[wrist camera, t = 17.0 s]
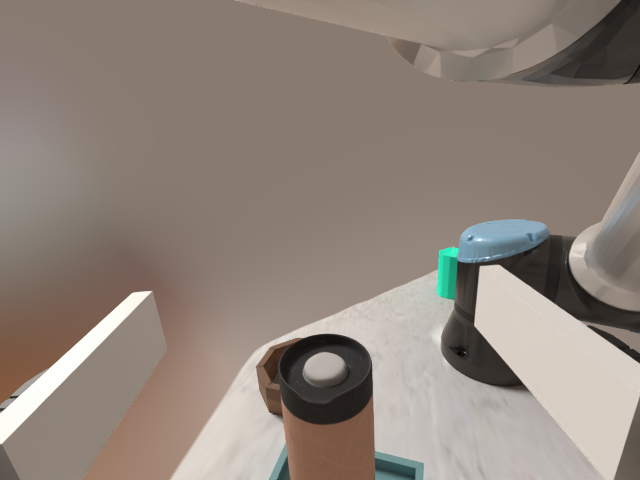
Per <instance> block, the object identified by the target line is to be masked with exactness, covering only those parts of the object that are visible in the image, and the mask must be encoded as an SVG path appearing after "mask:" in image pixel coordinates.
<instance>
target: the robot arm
mask: <svg viewBox="0 0 640 480" xmlns="http://www.w3.org/2000/svg"><path fill="white" fill-rule="evenodd" d="M234 1H239V2H243V3H248V4H252V5H256V6H260V7H265V8H269V9H274V10H278V11H282V12H286V13H291V14H295V15H300V16H303V17H308V18H312V19H316V20H321V21H325V22H329V23H334V24H338V25H343V26H347V27H351V28H355V29H360V30H364V31H368V32H373V33H377V34H382V35H384V36H385V37H386V39H387V40H388V42H389V43H390V44H391V46H392V47H393V48H394V49H395V50H396V51H397V53H398V54H399V55H400V56H401V57H402V58H404V59H405V60H406V61H407V62H409V63H410V64H411V65H412V66H414V67H416V68H418V69H420V70H422V71H423V72H425V73H428V74H431V75H434V76H437V77H440V78H443V79H448V80H454V81H480V82H494V83H504V84H515V85H526V86H541V87H590V86H605V85H615V84H631V83H640V0H234ZM549 234H550V231H549V230H548V227H547V226H546V225H545V224H543V223H540V222H537V221H529V220H498V221H489V222H485V223H480V224H476V225H474V226H471V227H470V228H468V229H466V230H465V231H464V232H463V234H462V235H461V238H460V244H459V251H458V254H457V260H458V262H457V277H456V291H455V304H454V310H453V312H452V314H451V316H450V318H449V320H448V322H447V324H446V326H445V328H444V330H443V332H442V336H441V351H442V354H443V356H444V357H445V359H446V360H447V361H448V362H449V363H450V364H451V365H452V366H453V367H454V368H456V369H457V370H459V371H460V372H462V373H463V374H465V375H467V376H469V377H471V378H474V379H477V380H479V381H482V382H486V383H490V384H496V385H519V384H524V385H525V386H526V387H527V388H528V389H529V390H530V392H531V393H532V394H533V395H534V396H535V397H536V399H537V400H538V401H539V402H540V403H541V405H542V406H543V407H544V408H545V409H546V410H547V412H548V413H549V414H550V415H551V416H552V417H553V419H554V420H555V421H556V422H557V423H558V424H559V426H560V427H561V428H562V429H563V430H564V432H565V433H566V434H567V435H568V436H569V437H570V439H571V440H572V441H573V442H574V443H575V444H576V446H577V447H578V448H579V449H580V450H581V451H582V453H583V454H584V455H585V456H586V457H587V459H588V460H589V461H590V462H591V463H592V464H593V466H594V467H595V468H596V469H597V470H598V471H599V473H600V474H601V475H602V476H603V477H604V478H605V480H640V353H638V352H637V351H635V350H634V349H630V348H629V346H628V345H626V344H625V343H623V342H622V341H620V340H619V339H617V338H616V337H614V336H613V335H611V334H609V333H607V332H604V331H602V330H600V329H597V328H595V327H593V326H585V325H584V324H582V323H581V322H580V321H585V322H590V323H595V324H600V325H605V326H611V327H616V328H621V329H625V330H629V331H631V332H635V333H639V334H640V152H639V154H638V156H637V157H636V159H635V161H634V163H633V165H632V167H631V169H630V170H629V172H628V174H627V176H626V178H625V179H624V181H623V183H622V185H621V187H620V189H619V190H618V192H617V194H616V196H615V198H614V200H613V201H612V203H611V205H610V207H609V209H608V211H607V212H606V214H605V216H604V218H603V220H602V222H600V223H597V224H595V225H592V226H591V227H589V228H587V229H586V230H585V231H583V232H582V233H581V234H580V235H579V236H578V237H573V236H559V235H549ZM578 320H580V321H578ZM166 351H167V346H166V342H165V338H164V334H163V331H162V327H161V323H160V319H159V315H158V311H157V307H156V304H155V300H154V296H153V292H152V291H147V292H134V293H132V294H131V295H130V296H129V297H128V298H126V299H125V300H124V301H123V302H122V303H121V304H120V305H119V306H118V307H117V308H116V309H114V310H113V311H112V312H111V313H110V314H109V315H108V316H107V317H106V318H105V319H103V320H102V321H101V322H100V323H99V324H98V325H97V326H96V327H95V328H94V329H92V330H91V331H90V332H89V333H88V334H87V335H86V336H85V337H84V338H83V339H81V341H79V342H78V343H77V344H76V345H75V346H74V347H73V348H72V349H71V350H70V351H68V352H67V353H66V354H65V355H64V356H63V357H62V358H61V359H60V360H58V361H57V362H56V363H55V364H54V365H53V366H52V367H51V368H50V369H46V370H45V371H43V372H42V373H40V374H38V375H37V376H35V377H34V378H32V379H30V380H29V381H27V382H26V383H25V384H24V385H23V386H21V387H20V388H19V389H18V390H17V391H16V392H15V393H13V394H12V395H11V396H10V399H7V400H6V401H4V402H3V403H2V404H1V405H0V480H82V479H83V478H84V476H85V475H86V473H87V472H88V470H89V469H90V467H91V465H92V464H93V462H94V461H95V459H96V458H97V456H98V455H99V453H100V452H101V450H102V449H103V447H104V446H105V444H106V442H107V441H108V439H109V438H110V436H111V435H112V433H113V432H114V430H115V429H116V427H117V425H118V424H119V423H120V421H121V419H122V418H123V416H124V415H125V413H126V412H127V410H128V409H129V407H130V406H131V404H132V403H133V401H134V399H135V398H136V396H137V395H138V393H139V392H140V390H141V389H142V387H143V386H144V384H145V383H146V381H147V380H148V378H149V376H150V375H151V374H152V372H153V370H154V369H155V367H156V366H157V364H158V363H159V361H160V360H161V358H162V357H163V355H164V354H165V352H166Z"/></svg>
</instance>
